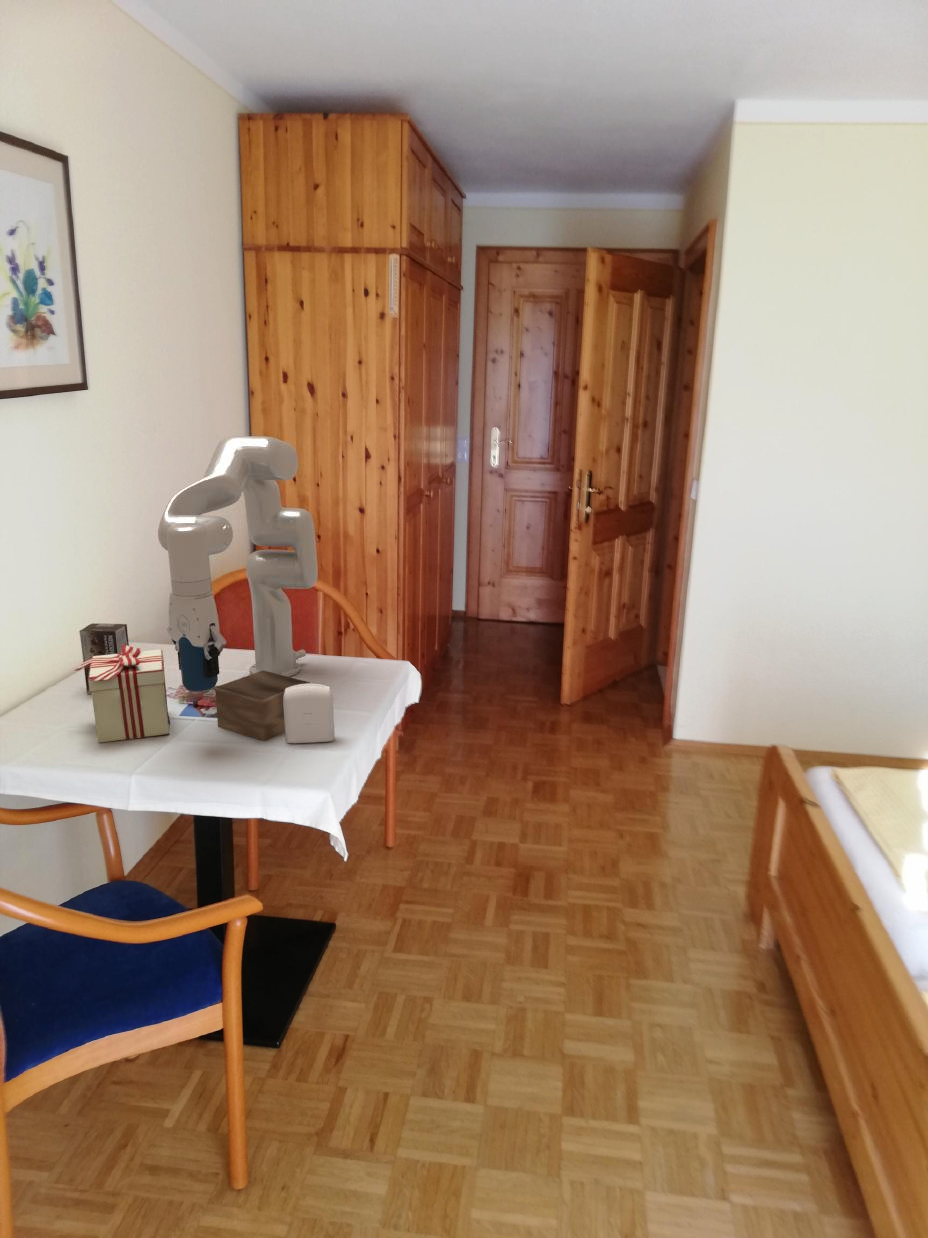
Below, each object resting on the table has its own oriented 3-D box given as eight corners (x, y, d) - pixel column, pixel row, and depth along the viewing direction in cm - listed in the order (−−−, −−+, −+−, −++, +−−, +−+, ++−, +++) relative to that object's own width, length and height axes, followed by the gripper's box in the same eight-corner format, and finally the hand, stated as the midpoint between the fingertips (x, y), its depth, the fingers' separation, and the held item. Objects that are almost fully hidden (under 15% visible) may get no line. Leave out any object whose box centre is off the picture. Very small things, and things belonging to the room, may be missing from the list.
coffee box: (134, 687, 226) (128, 623, 222) (122, 696, 220) (115, 630, 216) (98, 686, 227) (91, 622, 223) (85, 695, 221) (78, 629, 217)
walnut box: (265, 707, 213) (263, 670, 211) (311, 720, 206) (309, 682, 203) (216, 726, 202) (213, 687, 199) (263, 741, 194) (261, 700, 192)
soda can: (225, 687, 188) (220, 630, 184) (194, 696, 183) (189, 638, 179) (206, 678, 192) (201, 623, 189) (176, 687, 187) (170, 630, 184)
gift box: (80, 722, 204) (71, 647, 200) (167, 710, 212) (161, 637, 207) (82, 750, 189) (73, 670, 185) (176, 737, 196) (170, 659, 192)
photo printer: (284, 745, 192) (281, 688, 189) (286, 737, 196) (283, 681, 193) (334, 743, 193) (332, 687, 190) (335, 735, 197) (333, 680, 194)
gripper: (146, 584, 183) (155, 669, 188) (206, 598, 174) (214, 687, 179) (177, 576, 189) (185, 658, 194) (237, 589, 180) (243, 675, 185)
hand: (199, 671), depth 187 cm, fingers closed on soda can, 7 cm apart
